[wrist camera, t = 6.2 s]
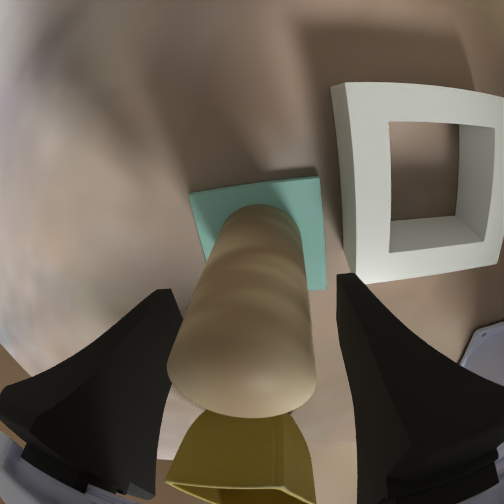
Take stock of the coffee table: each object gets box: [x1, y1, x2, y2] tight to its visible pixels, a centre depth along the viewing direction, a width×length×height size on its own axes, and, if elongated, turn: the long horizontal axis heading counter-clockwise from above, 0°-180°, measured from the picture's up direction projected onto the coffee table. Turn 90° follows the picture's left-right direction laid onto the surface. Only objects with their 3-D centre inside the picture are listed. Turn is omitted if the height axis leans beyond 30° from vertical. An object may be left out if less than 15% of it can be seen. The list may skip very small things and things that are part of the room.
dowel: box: [167, 204, 317, 418], centre depth 11 cm, size 4×4×8 cm
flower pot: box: [164, 409, 316, 504], centre depth 19 cm, size 9×9×9 cm
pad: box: [189, 176, 326, 291], centre depth 14 cm, size 6×6×1 cm
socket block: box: [330, 82, 504, 284], centre depth 10 cm, size 8×8×3 cm
